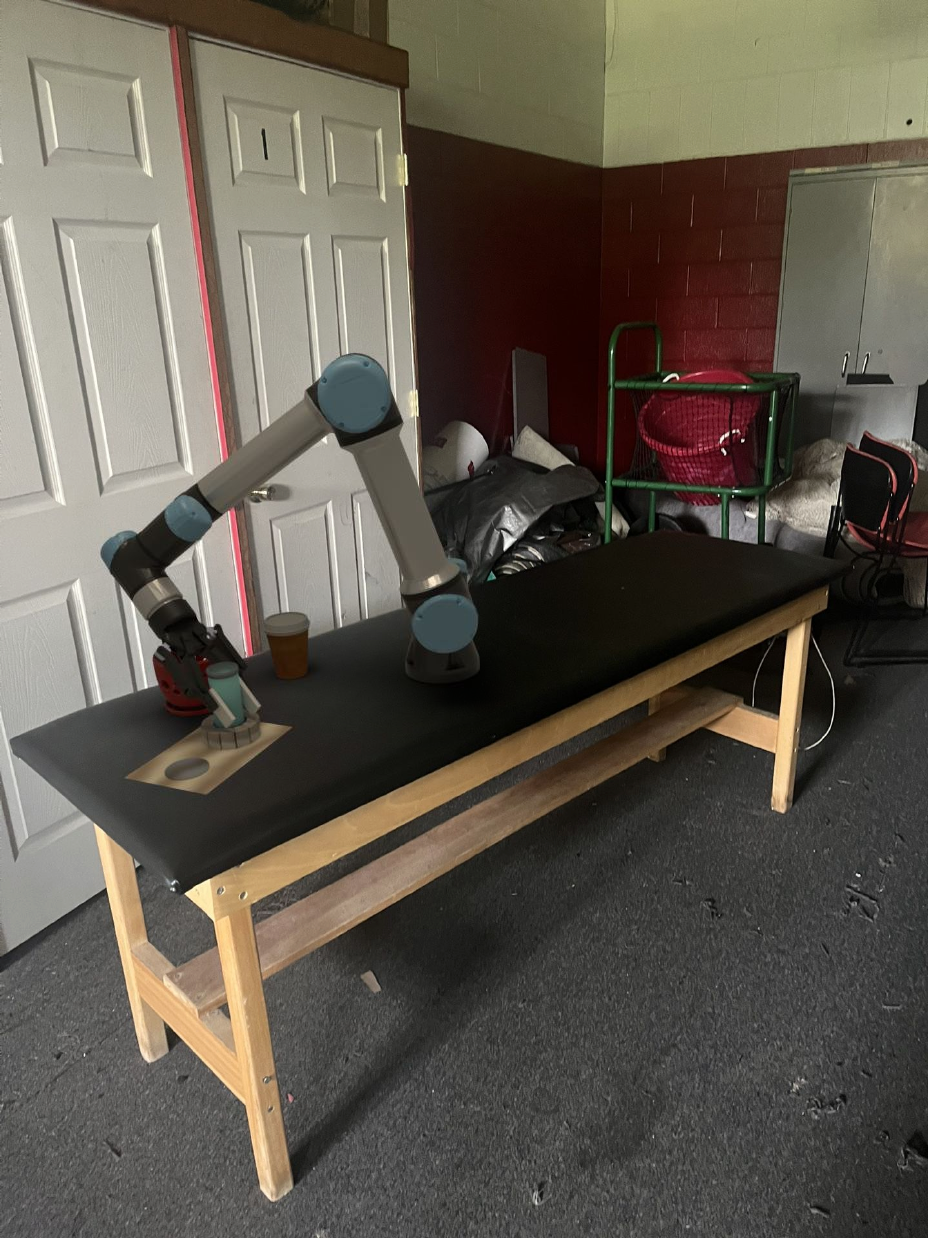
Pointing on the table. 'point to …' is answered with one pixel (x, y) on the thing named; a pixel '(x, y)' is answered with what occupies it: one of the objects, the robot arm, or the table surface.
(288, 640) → the disposable coffee cup
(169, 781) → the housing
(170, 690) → the plant pot
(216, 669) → the teal cylindrical container
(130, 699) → the table surface
